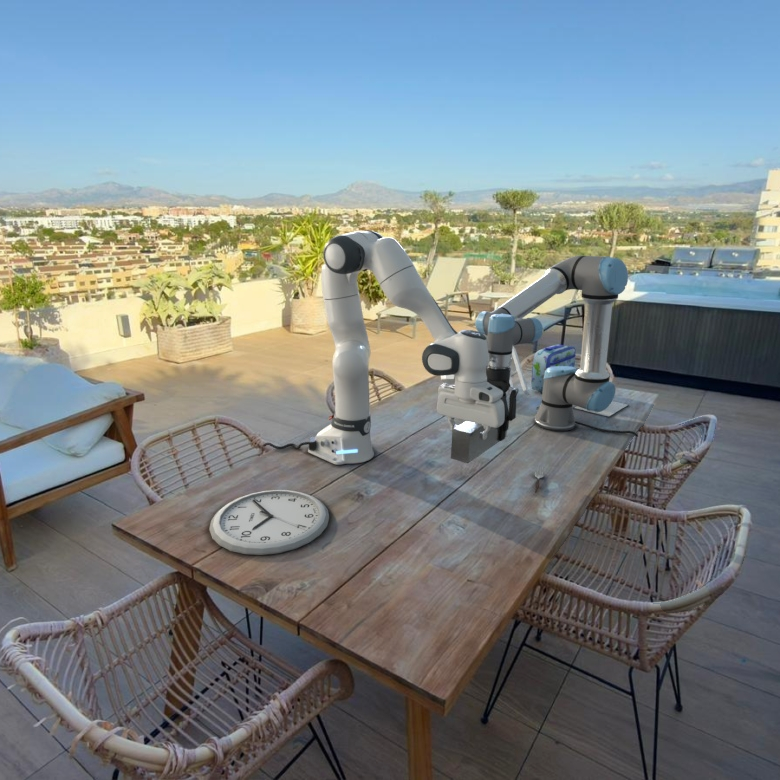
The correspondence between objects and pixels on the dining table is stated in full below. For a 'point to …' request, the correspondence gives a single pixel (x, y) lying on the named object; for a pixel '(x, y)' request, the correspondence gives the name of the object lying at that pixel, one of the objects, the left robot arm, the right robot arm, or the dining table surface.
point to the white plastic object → (451, 378)
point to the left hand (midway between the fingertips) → (468, 434)
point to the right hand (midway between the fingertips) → (492, 436)
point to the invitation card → (608, 409)
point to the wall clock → (269, 522)
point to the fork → (538, 475)
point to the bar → (471, 441)
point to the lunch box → (550, 362)
